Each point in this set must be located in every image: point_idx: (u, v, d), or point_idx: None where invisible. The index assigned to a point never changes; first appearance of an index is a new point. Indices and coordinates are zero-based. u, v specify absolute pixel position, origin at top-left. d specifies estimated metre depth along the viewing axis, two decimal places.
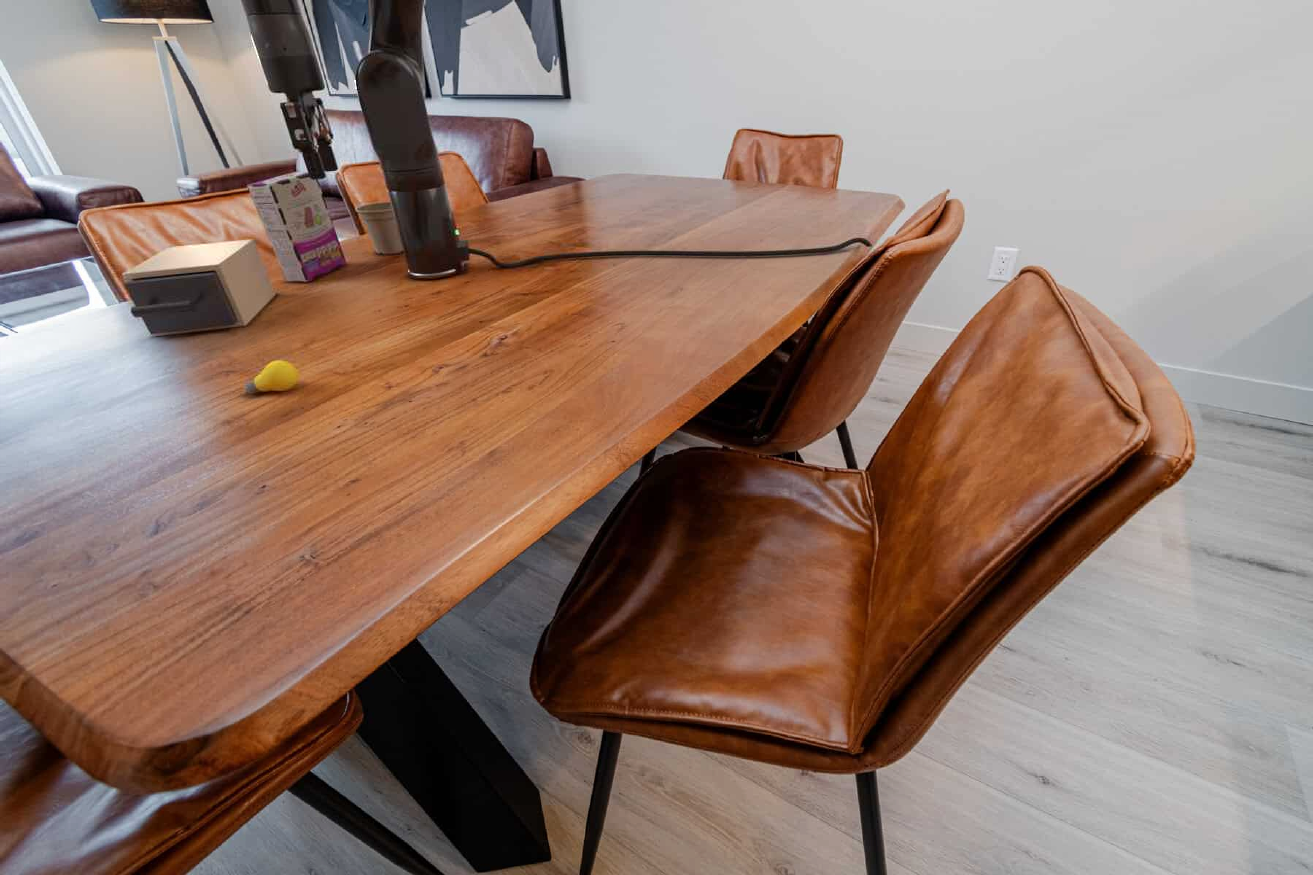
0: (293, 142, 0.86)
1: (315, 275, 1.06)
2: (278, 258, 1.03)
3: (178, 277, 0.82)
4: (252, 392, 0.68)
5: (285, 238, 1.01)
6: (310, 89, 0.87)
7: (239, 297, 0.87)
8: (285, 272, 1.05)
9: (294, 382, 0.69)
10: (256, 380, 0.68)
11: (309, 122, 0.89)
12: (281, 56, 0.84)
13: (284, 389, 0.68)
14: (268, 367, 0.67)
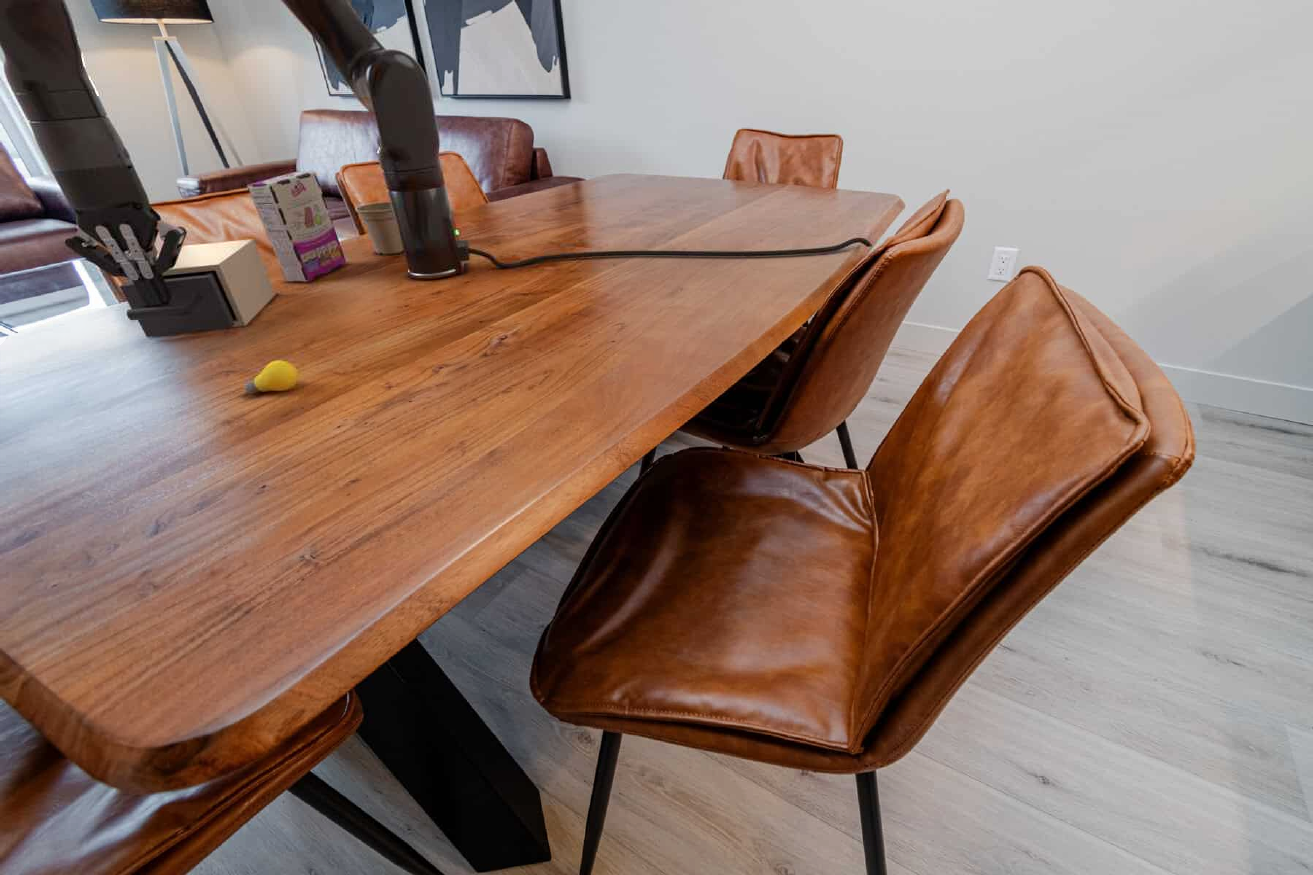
0: None
1: (315, 275, 1.06)
2: (278, 258, 1.03)
3: (174, 279, 0.81)
4: (252, 392, 0.68)
5: (285, 238, 1.01)
6: (73, 208, 0.70)
7: (239, 297, 0.87)
8: (285, 272, 1.05)
9: (294, 382, 0.69)
10: (256, 380, 0.68)
11: (97, 241, 0.73)
12: None
13: (284, 389, 0.68)
14: (268, 367, 0.67)
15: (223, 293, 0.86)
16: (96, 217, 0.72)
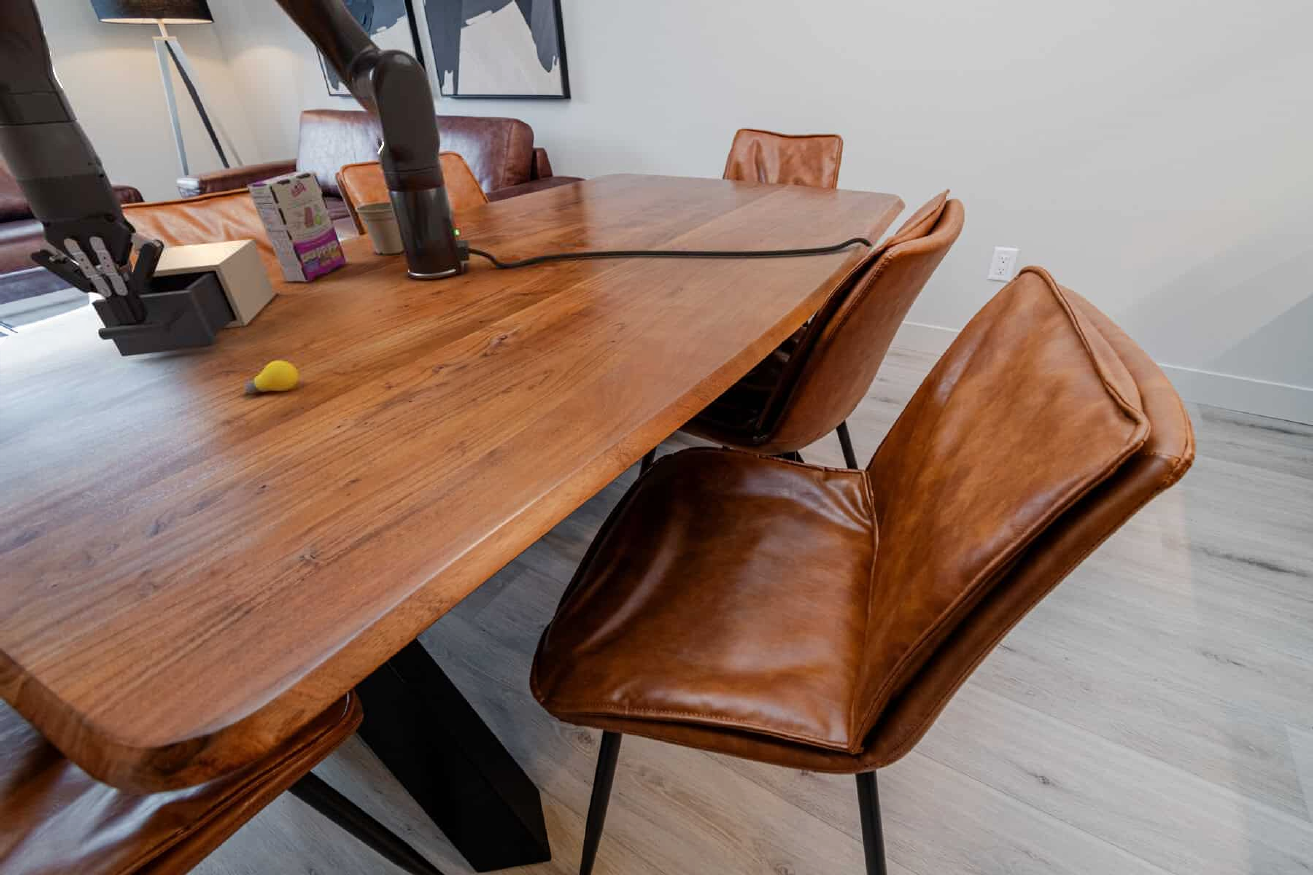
0: None
1: (315, 275, 1.06)
2: (278, 258, 1.03)
3: (151, 295, 0.75)
4: (252, 392, 0.68)
5: (285, 238, 1.01)
6: (39, 219, 0.65)
7: (239, 297, 0.87)
8: (285, 272, 1.05)
9: (294, 382, 0.69)
10: (256, 380, 0.68)
11: (66, 255, 0.68)
12: None
13: (284, 389, 0.68)
14: (268, 367, 0.67)
15: (204, 309, 0.80)
16: (65, 229, 0.67)
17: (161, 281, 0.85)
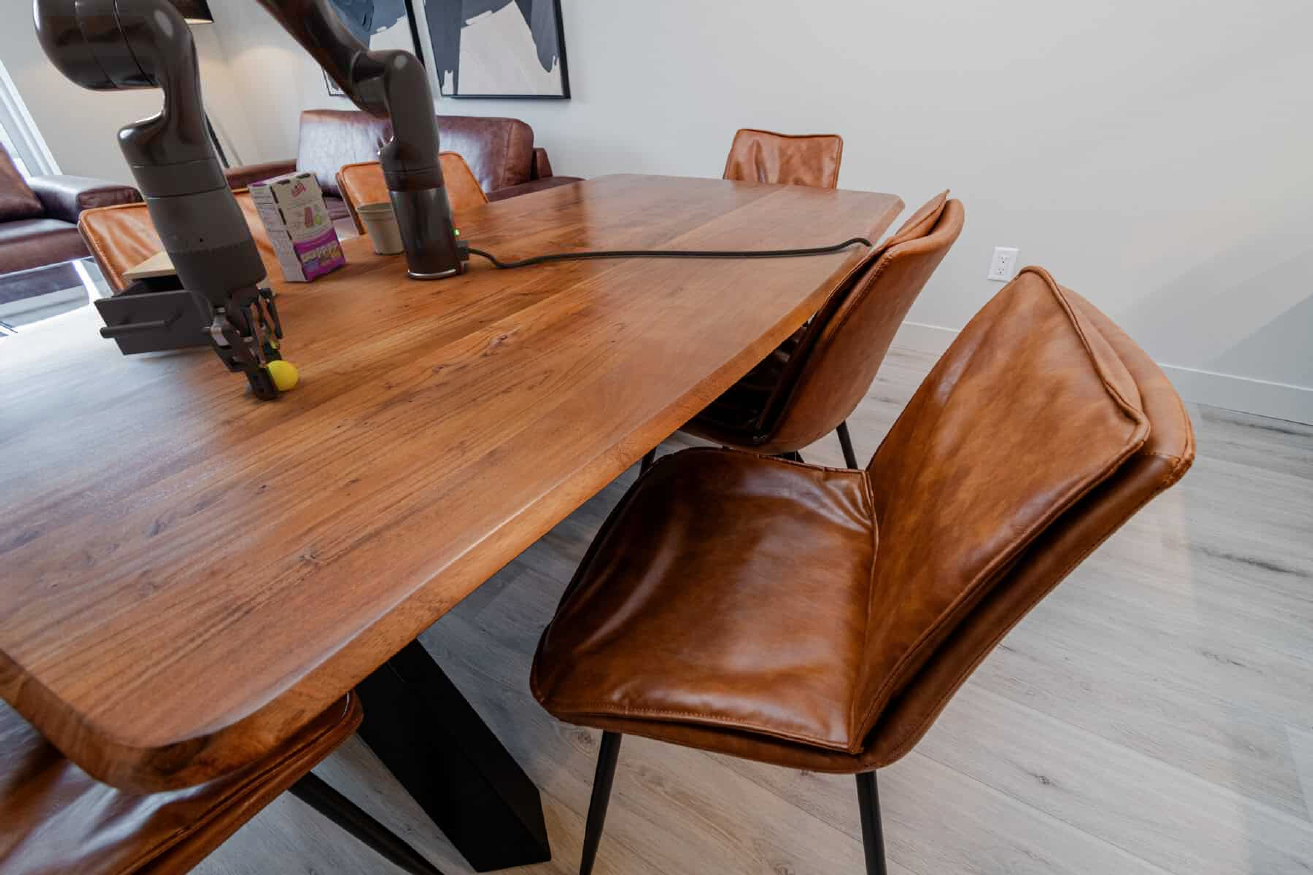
0: (230, 368, 0.62)
1: (315, 275, 1.06)
2: (278, 258, 1.03)
3: (152, 294, 0.76)
4: (252, 392, 0.68)
5: (285, 238, 1.01)
6: (243, 287, 0.61)
7: None
8: (285, 272, 1.05)
9: (294, 382, 0.69)
10: None
11: (243, 328, 0.62)
12: (196, 250, 0.57)
13: (284, 389, 0.68)
14: None
15: (205, 308, 0.80)
16: (238, 298, 0.62)
17: (162, 280, 0.86)
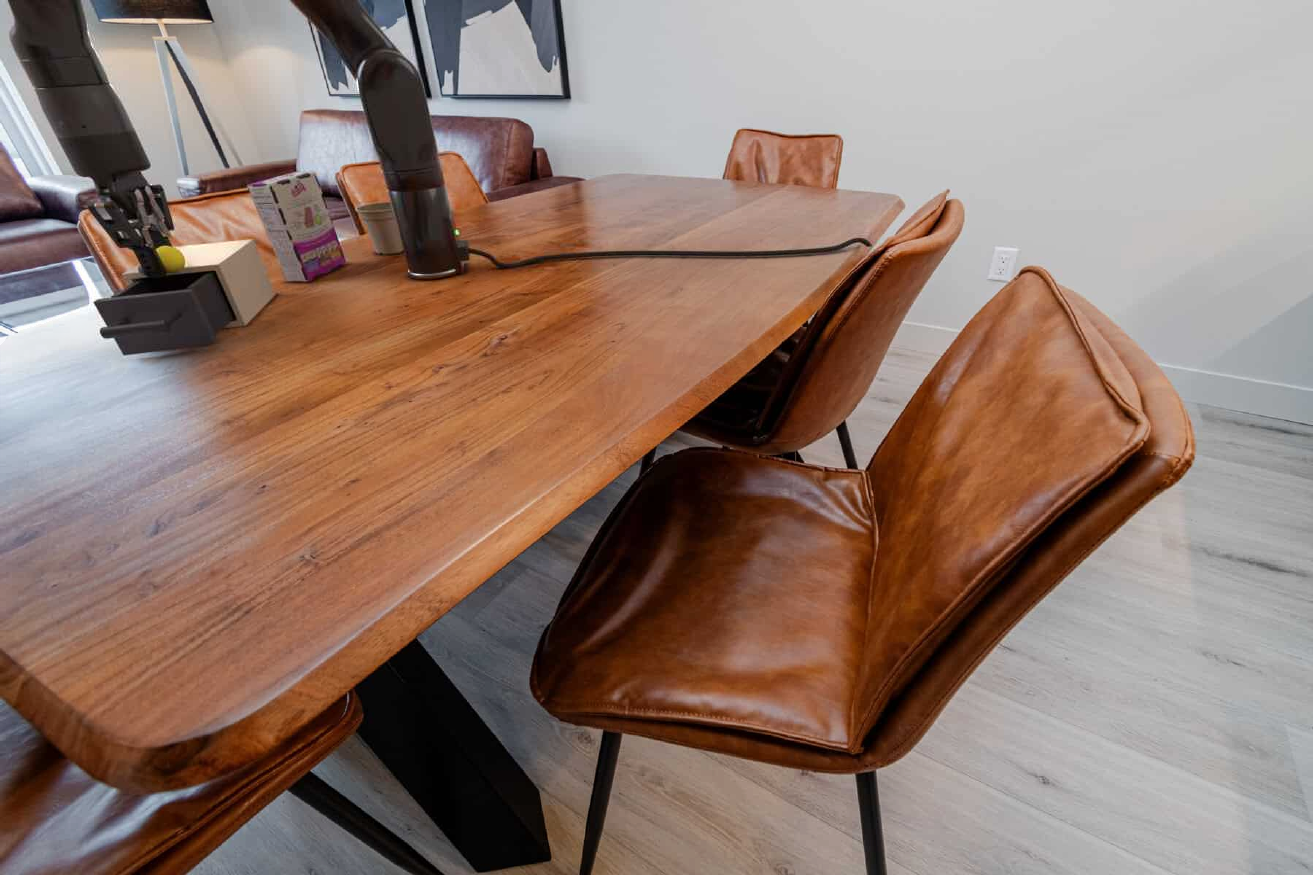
0: (117, 243, 0.74)
1: (315, 275, 1.06)
2: (278, 258, 1.03)
3: (152, 294, 0.76)
4: (144, 273, 0.80)
5: (285, 238, 1.01)
6: (125, 172, 0.72)
7: (239, 297, 0.87)
8: (285, 272, 1.05)
9: (180, 265, 0.80)
10: None
11: (128, 209, 0.74)
12: (80, 136, 0.69)
13: (171, 270, 0.80)
14: (156, 250, 0.79)
15: (205, 308, 0.80)
16: (124, 183, 0.74)
17: (162, 280, 0.86)
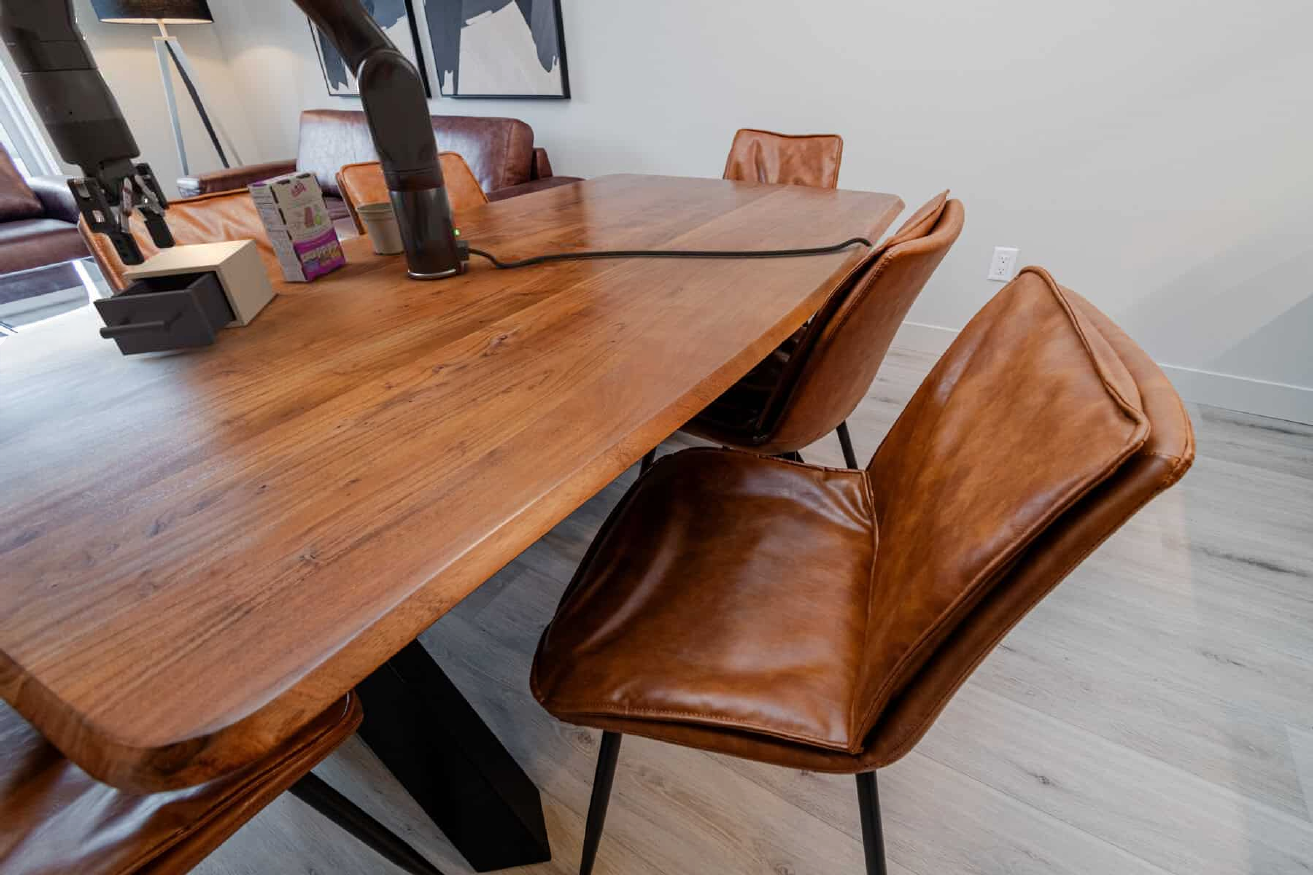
0: (90, 225, 0.70)
1: (315, 275, 1.06)
2: (278, 258, 1.03)
3: (152, 294, 0.76)
4: None
5: (285, 238, 1.01)
6: (113, 159, 0.71)
7: (239, 297, 0.87)
8: (285, 272, 1.05)
9: None
10: None
11: (116, 198, 0.72)
12: (67, 122, 0.67)
13: None
14: None
15: (205, 308, 0.80)
16: (112, 171, 0.72)
17: (162, 280, 0.86)
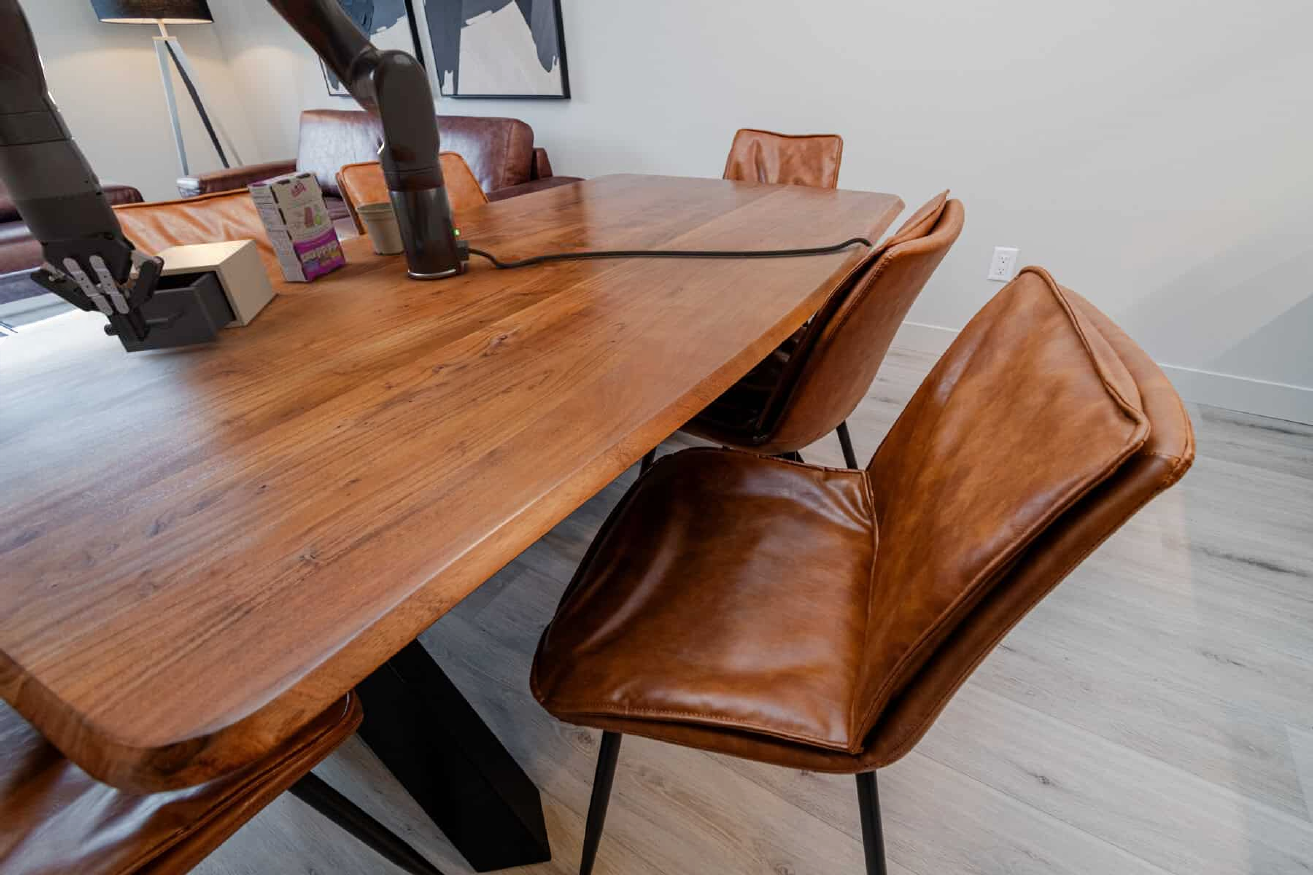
0: None
1: (315, 275, 1.06)
2: (278, 258, 1.03)
3: (156, 292, 0.76)
4: None
5: (285, 238, 1.01)
6: None
7: (239, 297, 0.87)
8: (285, 272, 1.05)
9: None
10: None
11: (66, 274, 0.67)
12: None
13: None
14: None
15: (208, 306, 0.81)
16: (63, 248, 0.66)
17: (165, 278, 0.87)
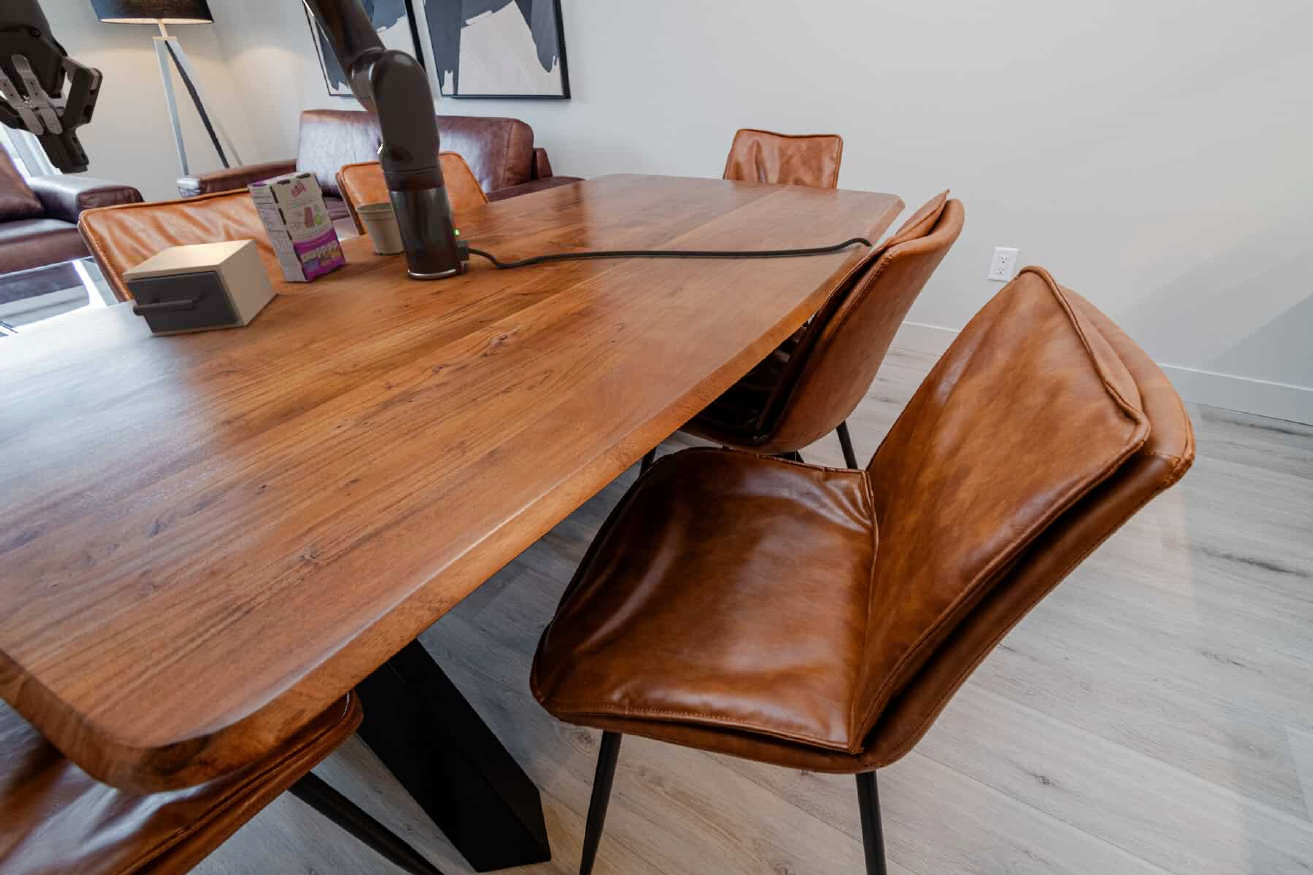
0: None
1: (315, 275, 1.06)
2: (278, 258, 1.03)
3: (180, 276, 0.82)
4: None
5: (285, 238, 1.01)
6: None
7: (239, 297, 0.87)
8: (285, 272, 1.05)
9: None
10: None
11: None
12: None
13: None
14: None
15: None
16: None
17: None
